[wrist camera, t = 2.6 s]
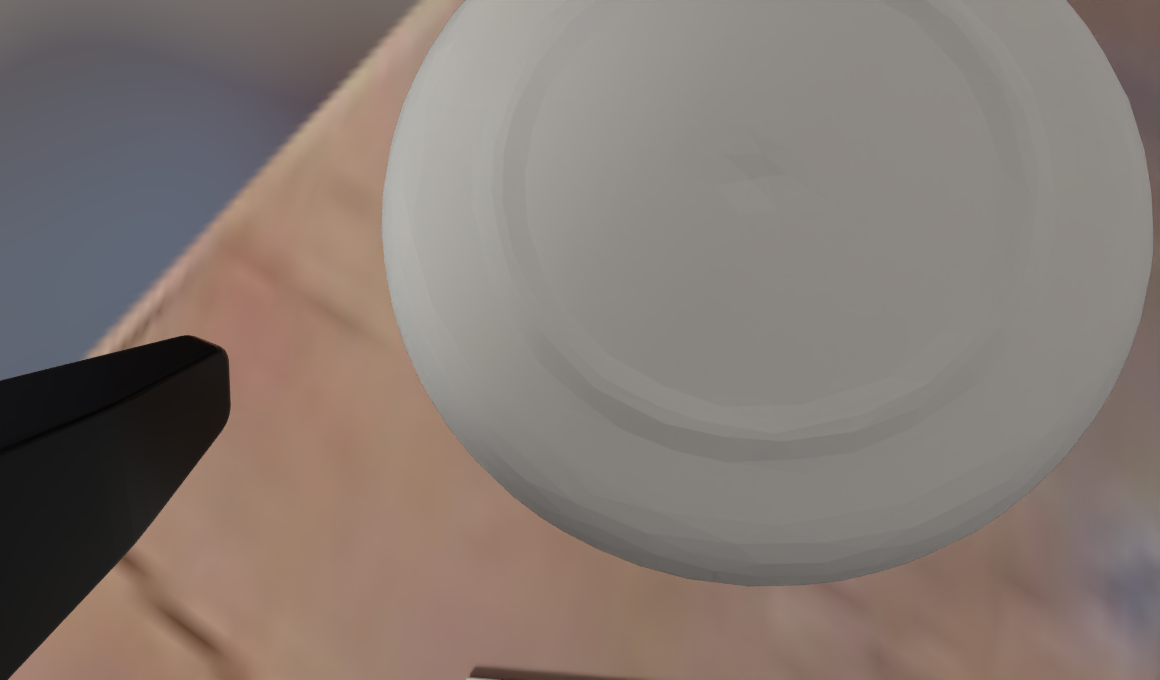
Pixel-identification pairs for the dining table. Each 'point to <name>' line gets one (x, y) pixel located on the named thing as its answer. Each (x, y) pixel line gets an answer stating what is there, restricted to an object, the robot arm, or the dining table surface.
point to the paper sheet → (473, 679)
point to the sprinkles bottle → (767, 267)
